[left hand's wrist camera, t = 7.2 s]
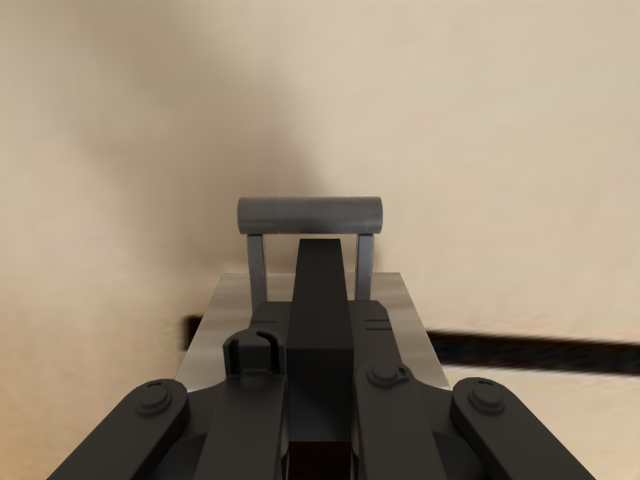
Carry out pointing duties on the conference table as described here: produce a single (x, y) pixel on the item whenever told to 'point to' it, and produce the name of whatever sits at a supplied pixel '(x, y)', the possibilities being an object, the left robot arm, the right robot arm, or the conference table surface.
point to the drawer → (252, 289)
